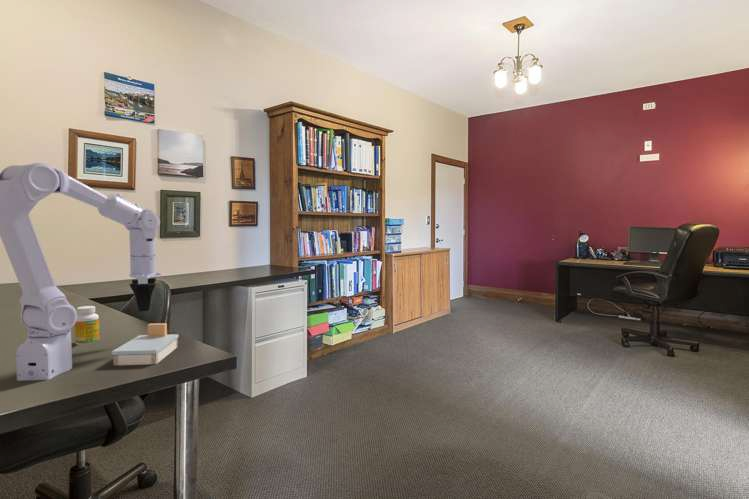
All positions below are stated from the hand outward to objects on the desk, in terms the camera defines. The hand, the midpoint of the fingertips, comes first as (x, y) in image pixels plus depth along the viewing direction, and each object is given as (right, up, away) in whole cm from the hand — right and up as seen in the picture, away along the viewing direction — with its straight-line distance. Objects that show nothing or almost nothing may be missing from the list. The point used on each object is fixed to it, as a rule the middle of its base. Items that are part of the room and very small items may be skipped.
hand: (144, 308), depth 106 cm
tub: (+6, -11, -8) cm, 15 cm away
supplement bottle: (-18, -10, +4) cm, 21 cm away
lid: (+6, -8, -9) cm, 13 cm away
